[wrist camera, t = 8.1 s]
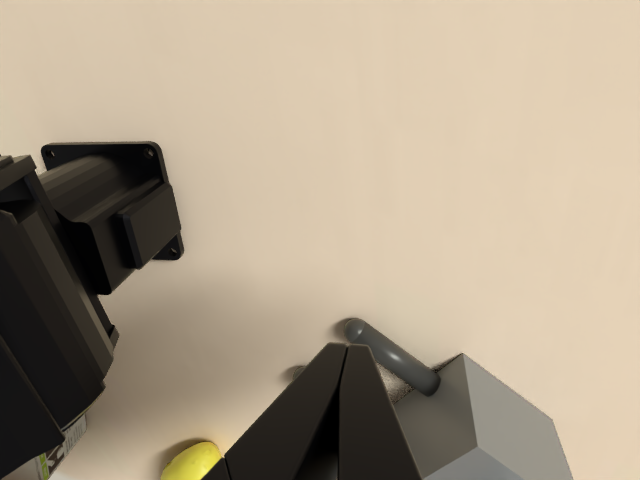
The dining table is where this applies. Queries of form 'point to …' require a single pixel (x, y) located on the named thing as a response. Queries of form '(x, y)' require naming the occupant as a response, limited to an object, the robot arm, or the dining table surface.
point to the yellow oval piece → (192, 462)
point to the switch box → (465, 419)
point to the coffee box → (49, 456)
